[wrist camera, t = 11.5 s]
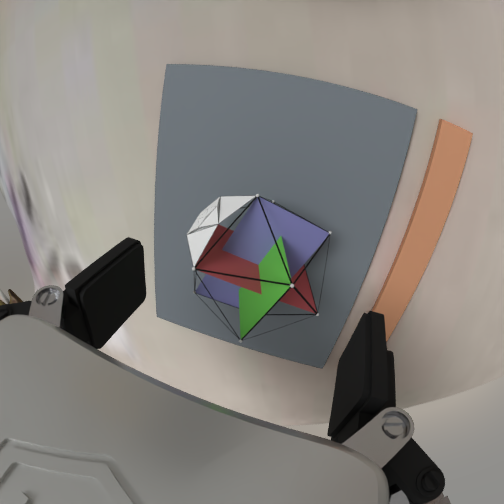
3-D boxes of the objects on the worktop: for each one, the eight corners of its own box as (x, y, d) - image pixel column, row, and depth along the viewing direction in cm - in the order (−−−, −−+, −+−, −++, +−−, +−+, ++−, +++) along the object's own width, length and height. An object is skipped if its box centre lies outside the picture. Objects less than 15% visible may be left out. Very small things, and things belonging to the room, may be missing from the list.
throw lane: (469, 132, 12) (472, 133, 12) (363, 374, 21) (363, 378, 21) (169, 64, 15) (165, 64, 14) (159, 313, 24) (156, 317, 24)
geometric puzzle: (380, 267, 14) (287, 282, 9) (303, 340, 18) (198, 379, 12) (301, 181, 18) (193, 153, 12) (246, 257, 21) (143, 260, 16)
